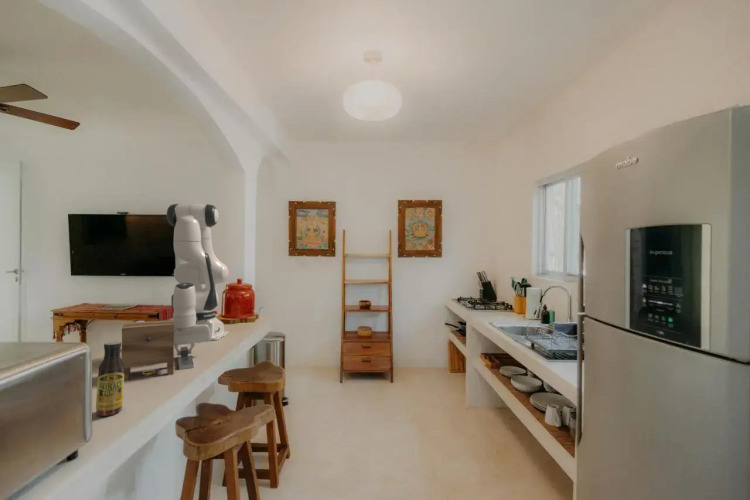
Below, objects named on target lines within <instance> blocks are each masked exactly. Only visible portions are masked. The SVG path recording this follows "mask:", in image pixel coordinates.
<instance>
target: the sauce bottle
mask: <svg viewBox="0 0 750 500" xmlns="http://www.w3.org/2000/svg"><path fill="white" fill-rule="evenodd" d="M103 349H104V350H103V351H104V354H103V355H104V356H103V360H102V361H101V363H100V364H99V366H98V375H97V383H96V384H97V385H96V402H95V403H96V404H95V409H96V410H95V411H96V412H95V414H96V416H98V417H108V416H110V417H111V416H113V415H116V414H118V413H120V412H121V411H122V410H123V405H124V389H125V386H124V385H125V381H124V363H123V361H122V357H121V349H122V341H118V340H117V341H116V340H115V341H107V342H105V343H104V344H103Z"/></svg>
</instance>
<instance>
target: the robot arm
mask: <svg viewBox="0 0 750 500" xmlns="http://www.w3.org/2000/svg"><path fill="white" fill-rule="evenodd" d="M219 216H220V215H219V211H218V209H217V207H216V206H215V205H213V204H209V203H207V204H203V203H195V202H194V203H180V204H179V203H174V204H170V205H169V206H168V207H167V211H166V218H167V222H168V223H169V225H171V226H172V227H173V228H174V230H173V251H174V255H175V256H176V257H177V258H178V259H179V260H182V261H183V263H180V264H178V265H177V266H176V267H175V269H174V271H173V276H174V279H175V281H176V282H177V283H178V284H175V286H174V290H173V293H172V295H171V301H170V302H171V305H170V306H171V308H173V314H172V317H171V318H169V319H167V320H173V322H174V350H176V356H181V349H179V345H181V346H182V345H189V344H190V348H188V355H190V354H191V355H192V352H193V351H192V350H193V349H194V347H195V344H197V343H198V344H199V343H208V342H210V341H217V340H220V339H222V338H223V336H224V337H225V336H227V335H228V333H229V334H230V332H229V331H227V330H225V326H224V325H225V324H224V322H223V321H222V320H220V319H218V318H217V317H216V315H218V314H219V313H220V312H219V310H218V309H217V310H216V308H217V307H218V306H219V301H220V300H219V299H220V297H219V294H218V291H217V288H216V284H223V283H225V282H226V281H227V280H228V278H229V275H230V272H229V268H228V266H227V265H226V264H225V263H223V262H222V261H221V260H220V259H218V257H217V256H216V254H215V252H214V248H213V239H212V238H213V237H212V236H213V235H212V229H211V228H212V227H214V226H215V225H216V224H217V223H218V221H219ZM184 262H186V263H184ZM202 285H205V287H204V288H203V286H202ZM221 337H222V338H221Z"/></svg>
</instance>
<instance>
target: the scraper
mask: <svg viewBox="0 0 750 500" xmlns="http://www.w3.org/2000/svg"><path fill="white" fill-rule="evenodd" d="M188 349H189V348H188V346H182V347H181V346H180V350H181V355H180V356H178V357H177V364H178V370H186V369H194V368H195V367H194V364H195V363H194V360H193V357H192V355H189V354H188Z"/></svg>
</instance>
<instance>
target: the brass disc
mask: <svg viewBox="0 0 750 500" xmlns="http://www.w3.org/2000/svg"><path fill="white" fill-rule="evenodd" d="M154 374H156V369H154V368H153V369H152V368H151V369H144V370H142V376H151V375H154Z"/></svg>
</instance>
